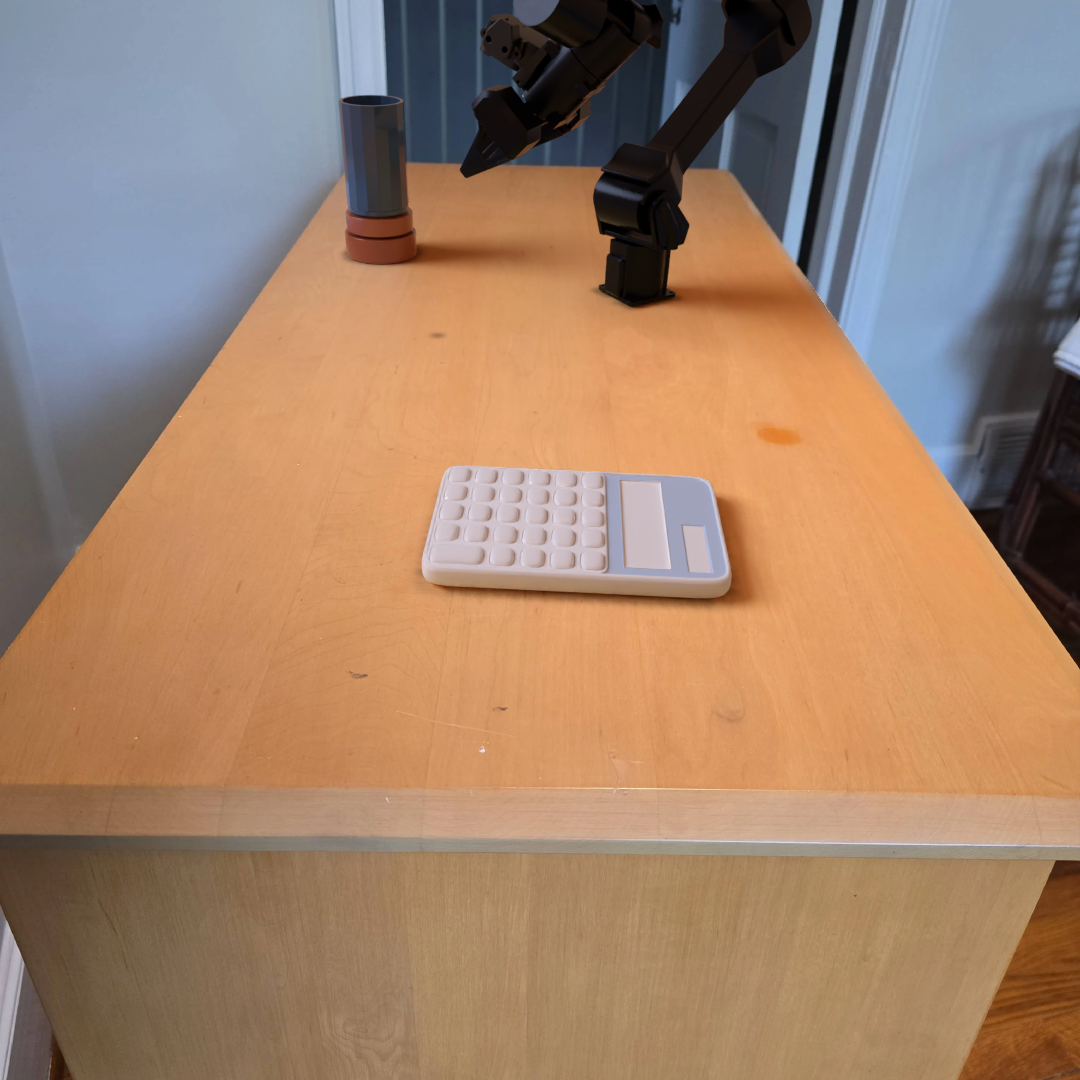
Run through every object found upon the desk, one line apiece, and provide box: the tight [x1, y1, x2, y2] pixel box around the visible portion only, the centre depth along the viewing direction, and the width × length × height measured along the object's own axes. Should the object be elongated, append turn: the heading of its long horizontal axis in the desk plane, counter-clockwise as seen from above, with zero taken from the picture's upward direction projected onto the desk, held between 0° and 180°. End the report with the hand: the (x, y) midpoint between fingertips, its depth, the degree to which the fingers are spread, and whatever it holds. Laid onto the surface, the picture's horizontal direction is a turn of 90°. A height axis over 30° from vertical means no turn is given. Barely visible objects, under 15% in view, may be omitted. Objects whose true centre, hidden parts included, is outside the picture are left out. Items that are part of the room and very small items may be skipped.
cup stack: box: [344, 207, 418, 265], centre depth 114 cm, size 9×9×5 cm
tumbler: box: [338, 94, 410, 217], centre depth 109 cm, size 7×7×12 cm
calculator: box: [421, 465, 733, 599], centre depth 64 cm, size 13×20×2 cm, turn 88°
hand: (482, 164), depth 98 cm, fingers open, 9 cm apart
